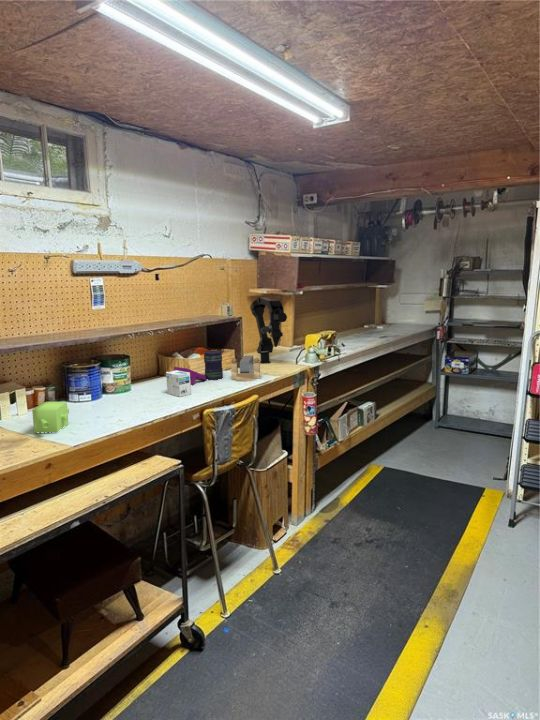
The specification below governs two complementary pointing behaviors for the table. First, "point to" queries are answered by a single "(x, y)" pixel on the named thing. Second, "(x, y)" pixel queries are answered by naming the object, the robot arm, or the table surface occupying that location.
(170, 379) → the light bulb box
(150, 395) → the table surface
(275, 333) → the robot arm
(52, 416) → the gearbox
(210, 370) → the storage jar
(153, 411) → the table surface
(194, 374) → the mounting bracket
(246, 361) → the silver rectangular block
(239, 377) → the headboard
